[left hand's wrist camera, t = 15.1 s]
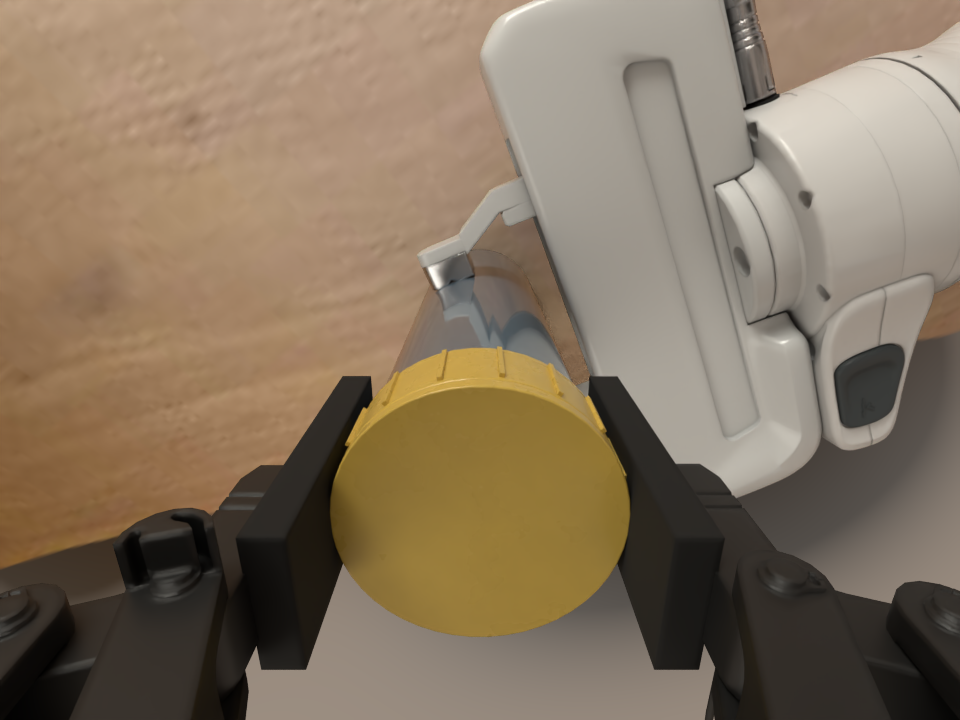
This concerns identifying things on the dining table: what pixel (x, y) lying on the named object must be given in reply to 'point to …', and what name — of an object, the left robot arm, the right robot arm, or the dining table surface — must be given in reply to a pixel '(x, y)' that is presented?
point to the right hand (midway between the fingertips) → (460, 349)
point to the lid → (480, 495)
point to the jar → (482, 316)
